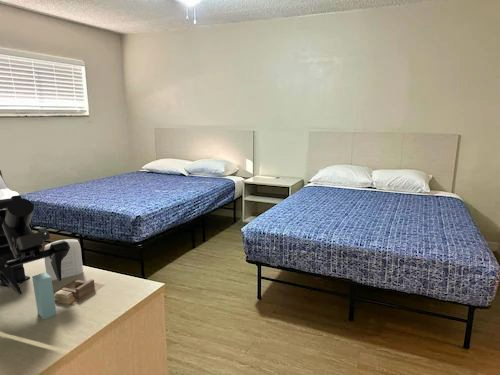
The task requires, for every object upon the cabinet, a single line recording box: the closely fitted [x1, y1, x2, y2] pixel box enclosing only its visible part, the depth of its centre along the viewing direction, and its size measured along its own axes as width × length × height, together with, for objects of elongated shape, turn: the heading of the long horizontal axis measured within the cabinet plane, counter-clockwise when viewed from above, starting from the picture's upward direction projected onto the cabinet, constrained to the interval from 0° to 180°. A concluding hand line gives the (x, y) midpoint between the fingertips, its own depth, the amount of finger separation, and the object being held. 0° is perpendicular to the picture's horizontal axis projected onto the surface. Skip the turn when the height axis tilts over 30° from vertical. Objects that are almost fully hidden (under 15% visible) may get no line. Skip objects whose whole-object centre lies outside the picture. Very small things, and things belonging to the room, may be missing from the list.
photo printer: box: [43, 238, 84, 281], centre depth 109 cm, size 10×4×12 cm, turn 123°
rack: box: [53, 278, 105, 307], centre depth 100 cm, size 11×12×4 cm
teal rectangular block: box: [31, 272, 57, 320], centre depth 88 cm, size 4×3×10 cm
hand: (41, 287), depth 89 cm, fingers open, 9 cm apart
